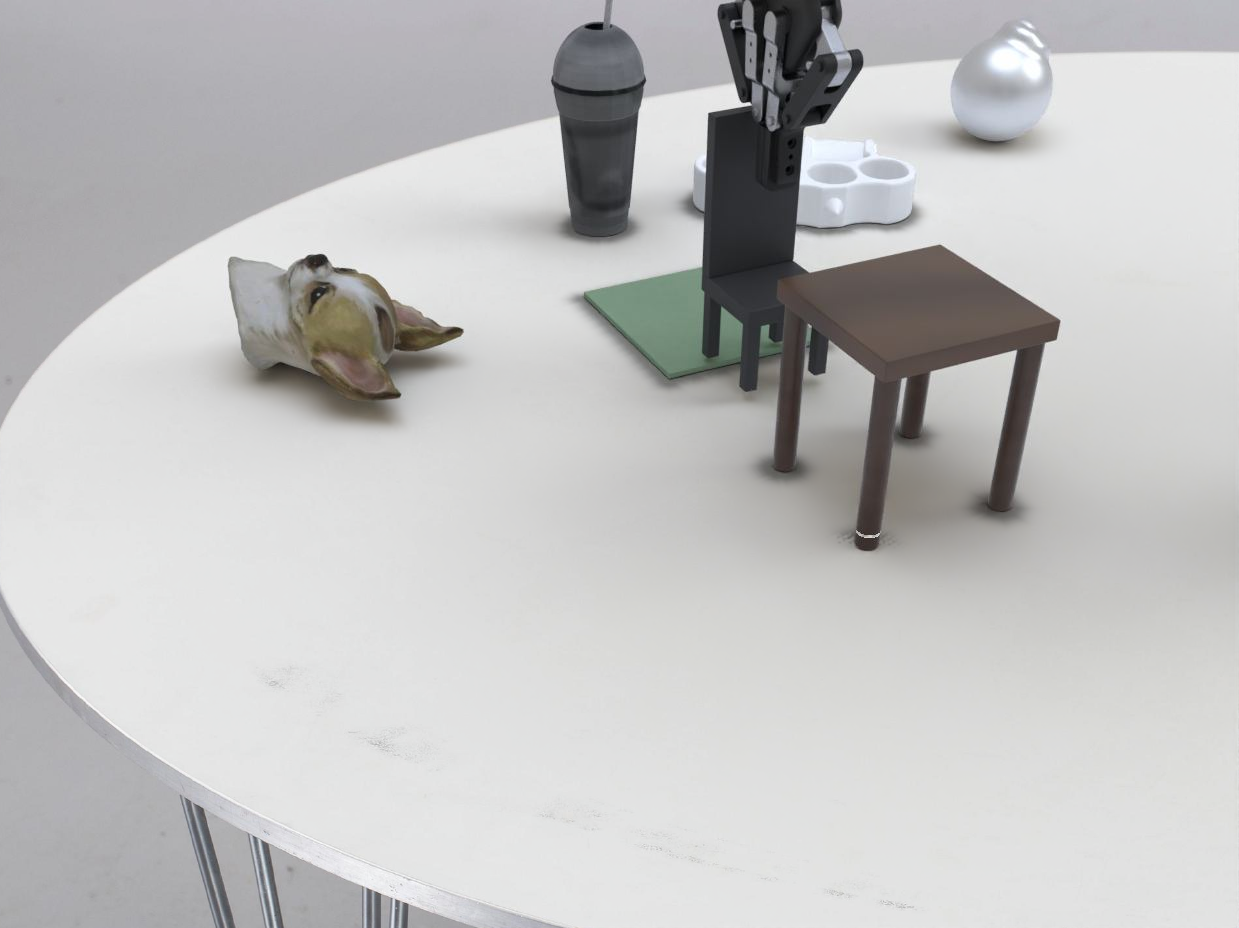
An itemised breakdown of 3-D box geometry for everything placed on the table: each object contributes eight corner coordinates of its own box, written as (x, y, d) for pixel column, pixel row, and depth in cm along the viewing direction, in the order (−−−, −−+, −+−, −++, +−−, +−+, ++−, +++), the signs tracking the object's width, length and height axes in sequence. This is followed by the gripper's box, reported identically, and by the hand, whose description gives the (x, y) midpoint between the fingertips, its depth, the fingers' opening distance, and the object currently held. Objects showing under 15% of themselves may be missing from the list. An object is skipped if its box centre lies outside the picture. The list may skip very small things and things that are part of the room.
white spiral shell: (1067, 149, 129) (1090, 32, 123) (971, 160, 127) (989, 42, 121) (1018, 116, 136) (1038, 3, 129) (926, 126, 134) (941, 12, 127)
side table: (1021, 508, 84) (1061, 319, 77) (861, 555, 81) (886, 362, 73) (914, 422, 92) (940, 243, 84) (763, 462, 89) (777, 279, 81)
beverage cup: (572, 203, 121) (567, -56, 108) (655, 213, 119) (660, -49, 106) (541, 237, 115) (532, -32, 103) (628, 248, 113) (629, -24, 101)
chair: (828, 373, 96) (854, 128, 85) (744, 394, 94) (759, 146, 83) (780, 333, 100) (798, 96, 90) (698, 352, 98) (707, 112, 88)
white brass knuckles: (910, 171, 125) (911, 240, 114) (703, 162, 128) (685, 228, 116) (915, 133, 123) (917, 198, 112) (705, 123, 125) (686, 187, 114)
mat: (822, 342, 101) (822, 337, 100) (668, 379, 97) (669, 373, 97) (726, 266, 111) (726, 261, 110) (583, 296, 107) (583, 291, 107)
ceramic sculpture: (268, 203, 99) (466, 247, 95) (281, 318, 104) (468, 364, 100) (179, 267, 91) (390, 317, 87) (198, 387, 97) (397, 439, 93)
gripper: (928, -113, 74) (887, 213, 85) (795, -157, 84) (774, 141, 94) (803, -97, 72) (777, 236, 83) (680, -145, 81) (672, 160, 92)
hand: (775, 185), depth 89 cm, fingers closed
